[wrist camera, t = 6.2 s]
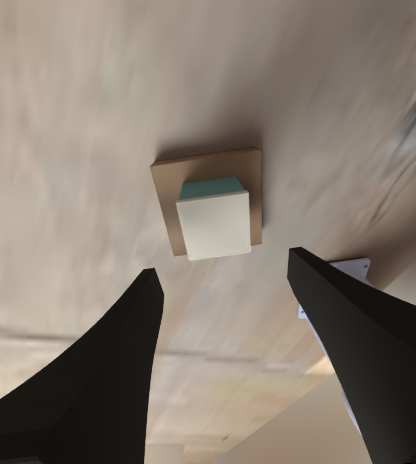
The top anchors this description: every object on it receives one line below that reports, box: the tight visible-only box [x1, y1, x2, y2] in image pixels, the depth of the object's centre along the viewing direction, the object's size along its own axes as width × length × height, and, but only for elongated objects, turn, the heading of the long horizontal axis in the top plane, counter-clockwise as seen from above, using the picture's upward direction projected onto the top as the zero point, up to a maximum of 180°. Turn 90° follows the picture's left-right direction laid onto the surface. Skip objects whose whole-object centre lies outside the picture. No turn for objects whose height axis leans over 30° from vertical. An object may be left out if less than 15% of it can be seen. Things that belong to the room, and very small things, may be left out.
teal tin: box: [176, 176, 251, 261], centre depth 16 cm, size 5×5×5 cm
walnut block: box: [150, 147, 262, 256], centre depth 19 cm, size 9×9×2 cm
